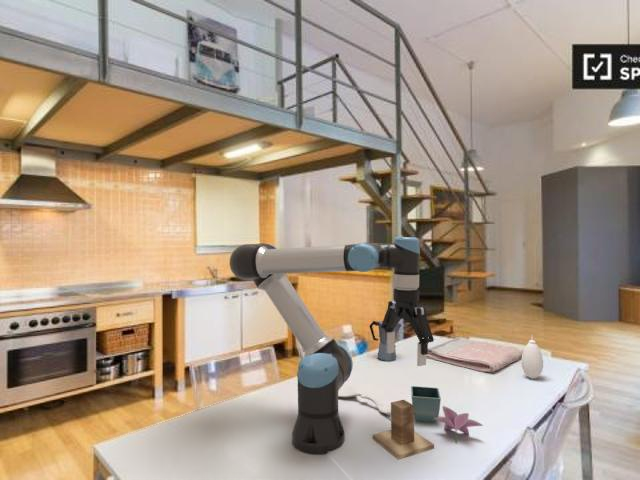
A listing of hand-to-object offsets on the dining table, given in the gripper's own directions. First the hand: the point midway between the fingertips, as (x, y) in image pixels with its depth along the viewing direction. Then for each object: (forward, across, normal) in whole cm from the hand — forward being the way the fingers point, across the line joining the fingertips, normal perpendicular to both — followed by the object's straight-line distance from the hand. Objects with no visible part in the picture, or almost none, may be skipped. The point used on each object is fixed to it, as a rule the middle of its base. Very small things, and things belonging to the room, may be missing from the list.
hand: (405, 358), depth 118 cm
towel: (+22, +37, -78) cm, 89 cm away
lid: (+21, -6, +6) cm, 23 cm away
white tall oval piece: (+21, +6, -75) cm, 78 cm away
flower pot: (+22, +2, -10) cm, 24 cm away
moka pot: (+22, +58, -40) cm, 74 cm away
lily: (+22, -12, -10) cm, 26 cm away
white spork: (+23, +22, -1) cm, 32 cm away
